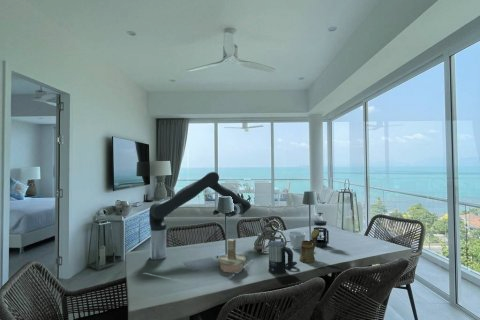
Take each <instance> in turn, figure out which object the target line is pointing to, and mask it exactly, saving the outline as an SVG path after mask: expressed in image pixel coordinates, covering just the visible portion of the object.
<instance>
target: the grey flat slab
mask: <svg viewBox="0 0 480 320" xmlns="http://www.w3.org/2000/svg"><path fill="white" fill-rule="evenodd" d="M182 264H183V265H184V266H185V267H186V268H187V269H188V271H189V272H190V273H191V272H198V271H201V270H202V271H203V270H207V269H213V268H219V267H221V264H220V263H219V262H218V260H215V258H213V257H211V256H210V257H206V258H199V259H195V260H188V261H182Z"/></svg>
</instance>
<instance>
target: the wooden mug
mask: <svg viewBox="0 0 480 320" xmlns="http://www.w3.org/2000/svg"><path fill="white" fill-rule="evenodd" d="M319 230H320V229H315V230H314V229H313V230H312V232H311V234H310V239H308V240H307V239H306V240H303V241H302V243H301V249H300V256H299V261H300V262H301V263H305V264H312V263H315V262H316V258H315V253H314V251H315V248H316V247H315V245H316V242H315V239H316V238H317V237H318V236H319V235H320V231H319Z"/></svg>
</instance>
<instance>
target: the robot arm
mask: <svg viewBox="0 0 480 320" xmlns="http://www.w3.org/2000/svg"><path fill="white" fill-rule="evenodd" d="M219 179H220V175H219V174H218V172H215V171H209V172H208V173H207V174H206V175H204V176H203V177H202V178H200V179H198V180H196V181H194V182H192V183H190V184H188V185H186V186H184V187H183V188H181V189H179V190H178V191H177V192H176V193H175V194H174V195H173V197H171V198H170V199H168V200H166V201H164V202H162V203H161V202H154V203H153V204H151V205H150V207H149V211H148V213H149V216H148V217H149V218H148V219H149V226H150V241H149V258H150V260H152V261H153V260H155V261H156V260H158V261H159V260H162V259H165V258H167V223H166V222H165V221H166V220H165V218H166V217H167V216H169V215H170V214H171V213H172V212H174V211H175V210H176V209H178V208H180V207H182V206H183V205H184V204H186V203H188V202H190V201H191V200H193V199H195V198H196V197H197V196H198V195H199V194H201V193H202V192H203V191H205V189H207V188H210V189H211V190H213V191H215V192H216V193H218V194H219V195H221V196H222V197H223V196H231V197H232V199H233V203H234V211H232V212H229V213H227V212H225V213H222V212H221V213H219V212H218V211H217V208H216V209H214V210H213V212H212V214H213V215H214V216H215V215H219V216H220V215H222V216H223V215H224V216H225V217H228V218H231V217H235V216H237V215H244V214H245V213H247V212H248V211H249V209H251V206H252V205H251V203H250V202H249V201H248V200H247V199H244V198H242V197H240V196H239V195H237V194H236V193H235V192H234V191H233V190H231V189H230V188H227V187H226V186H223V185H221V184H220V183H219Z"/></svg>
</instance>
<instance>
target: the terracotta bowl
mask: <svg viewBox="0 0 480 320" xmlns="http://www.w3.org/2000/svg"><path fill="white" fill-rule="evenodd" d="M243 269H244V263H243V264H240V265H233V266H229V265H223V264H221V266H220V270H221V271H222V272H223V273H233V275H235V274H239V273H241V272H242V271H243Z"/></svg>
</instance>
